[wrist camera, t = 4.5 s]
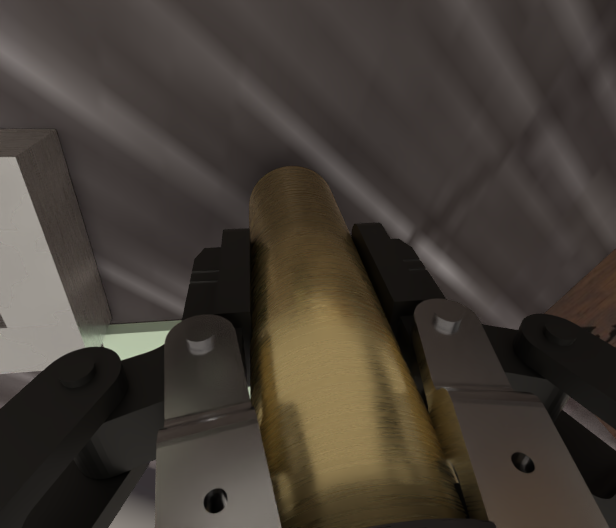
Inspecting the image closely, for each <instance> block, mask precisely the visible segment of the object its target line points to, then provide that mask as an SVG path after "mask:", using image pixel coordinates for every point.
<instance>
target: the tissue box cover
mask: <svg viewBox="0 0 616 528" xmlns="http://www.w3.org/2000/svg"><path fill="white" fill-rule="evenodd" d="M544 314H549V315H554V316H558V317H561V318H564V319H566V320H569V321H571V322H573V323H575V324H576V325H578V326H580V327H582V328H583V329H585V330H587V331H588V332H590V333H592V334H593V335H595V336H597V337H598V338H600V339H602V340H604V341H605V342H607V343H609V344H610V345H612V346H614V347H615V348H616V249H615V250H614V251H612V252H611V253H610V254H609V255H608V256H607V257H606V258H605V259H604V260H603V261H601V262H600V263H599V264H598V265H597V266H596V267H595V268H594V269H593V270H592V271H590V272H589V273H588V274H587V275H586V276H585V277H584V278H583V279H582V280H581V281H579V282H578V283H577V284H576V285H575V286H574V287H573V288H572V289H571V290H570V291H569V292H567V293H566V294H565V295H564V296H563V297H562V298H561V299H560V300H559V301H558V302H556V303H555V304H554V305H553V306H552V307H551V308H550V309H549V310H548V311H547V312H545V313H544ZM594 415H595V414H594ZM595 416H596V415H595ZM596 417H597V416H596ZM597 418H598V419H599V420H600V422H601V423H602V424H603V425H604V426H605V427H606V428H607V429H608V431H609V432H610V433H611V434H612V435H613V436H614V437H615V439H616V430H615V429H614V428H612V427H611V426H610V425H608V424H607V423H606V422H604V421H603V420H601V419H600V418H599V417H597Z"/></svg>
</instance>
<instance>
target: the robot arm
mask: <svg viewBox="0 0 616 528" xmlns="http://www.w3.org/2000/svg"><path fill="white" fill-rule="evenodd" d="M351 238H352V240H353V242H354V245H355V247H356V249H357V251H358V254H359V256H360V258H361V260H362V263H363V265H364V267H365V270H366V272H367V274H368V276H369V279H370V281H371V283H372V286H373V288H374V290H375V292H376V295H377V297H378V299H379V302H380V304H381V306H382V308H383V311H384V313H385V315H386V318H387V320H388V322H389V324H390V327H391V329H392V331H393V334H394V336H395V338H396V340H397V343H398V345H399V347H400V349H401V352H402V354H403V356H404V359H405V361H406V363H407V365H408V368H409V370H410V372H411V375H412V377H413V379H414V381H415V384H416V386H417V388H418V391H419V393H420V395H421V397H422V400H423V402H424V404H425V407H426V409H427V411H428V413H429V416H430V419H431V421H432V423H433V426H434V429H435V431H436V434H437V437H438V440H439V442H440V445H441V448H442V451H443V453H444V456H445V459H446V460H447V461H448V462H449V463H450V464H451V466H452V468H453V470H454V473H455V475H456V477H457V480H458V482H459V483H454V486H455V489H456V491H457V493H458V496H459V498H460V501H461V503H462V505H463V508H464V510H465V512H466V515H467V516H465V517H466V519H477V520H486V521H492V522H494V523H495V526H496V528H616V451H615V450H614V449H613V448H611V447H610V446H609V445H607V444H606V443H605V442H603V441H602V440H601V439H600V438H598V437H597V436H596V435H594V434H593V433H592V432H590V431H589V430H588V429H586V428H585V427H584V426H583V425H581V424H580V423H579V422H577V421H576V420H575V419H573V418H572V417H571V416H569V415H568V414H567V413H566V412H564V411H563V410H562V409H563V407H564V406H565V404H566V402H567V401H568V399H569V398H570V397H571V398H573V399H574V400H575V401H577V402H578V403H580V404H581V405H582V406H584V407H585V408H586V409H588V410H589V411H590V412H592V413H593V414H595V415H596V416H597V417H599V418H600V419H601V420H603V421H604V422H606V423H607V424H608V425H610V426H611V427H612V428H614V429H615V430H616V348H615V347H614V346H612V345H610V344H609V343H607V342H605V341H604V340H602V339H600V338H598V337H597V336H595V335H593V334H592V333H590V332H588V331H587V330H585V329H583V328H582V327H580V326H578V325H576V324H575V323H573V322H571V321H569V320H566V319H564V318H561V317H558V316H554V315H549V314H533V315H530V316H527V317H526V318H524V320H523V321H522V323H521V325H520V327H519V330H514V329H507V328H501V327H495V326H489V325H484V324H481V322H480V320H479V318H478V317H477V316H476V314H475V313H474V312H473V311H472V310H470V309H469V308H467V307H466V306H464V305H462V304H460V303H458V302H455V301H452V300H447V299H446V298H445V296H444V295H443V293H442V292H441V290H440V289H439V287H438V286H437V284H436V283H435V281H434V280H433V278H432V277H431V275H430V274H429V272H428V271H427V270H425V266H424V265H423V263H422V262H421V261H419V257H418V256H417V254H416V253H415V251H414V250H413V248H412V247H410V246H409V245H407V244H406V243H404V242H403V241H402V240H400V239H390V237H389V236H388V234H387V232H386V231H385V229H384V227H383V226H382V224H381V223H362V224H354V226H353V229H352V237H351ZM251 338H252V290H251V237H250V228H247V229H225V230H223V235H222V244H221V247H218V248H204V250H203V251H202V252H201V253H200V254H199V255H198V256H197V257H196V258H195V260H194V265H193V269H192V274H191V279H190V284H189V289H188V293H187V298H186V303H185V308H184V313H183V317H182V321H181V322H180V323H178V324H177V325H175V326H174V327H173V328H172V329H171V330H170V331H169V333H168V334H167V336H166V339H165V344H163V345H162V346H160V347H158V348H156V349H154V350H152V351H149V352H146V353H143V354H140V355H137V356H134V357H131V358H127V359H124V360H121V359H120V357H119V355H118V354H117V353H116V352H114V351H113V350H111V349H108V348H105V347H86V348H81V349H78V350H75V351H72V352H70V353H67V354H65V355H63V356H62V357H60V358H58V359H57V360H55V361H54V362H52V363H51V364H50V365H49V366H48V367H46V368H45V369H44V370H43V371H42V372H41V373H40V374H39V375H38V376H36V377H35V378H34V379H33V380H32V381H31V382H30V383H29V384H28V385H26V386H25V387H24V388H23V389H22V390H21V391H20V392H19V393H18V394H16V395H15V396H14V397H13V398H12V399H11V400H10V401H9V402H8V403H6V404H5V405H4V406H3V407H2V408H1V409H0V528H108V527H109V526H110V524H111V523H112V521H113V520H114V518H115V516H116V515H117V513H118V512H119V510H120V509H121V507H122V505H123V504H124V502H125V501H126V499H127V498H128V496H129V495H130V493H131V492H132V490H133V489H134V487H135V486H136V484H137V483H138V481H139V480H140V478H141V476H142V475H143V473H144V472H145V470H146V469H147V467H148V465H149V463H150V461H153V460H155V459H156V494H155V528H282V527H281V523H280V519H279V512H278V506H277V505H276V501H275V496H274V492H273V487H272V483H271V478H270V474H269V469H268V465H267V460H266V456H265V451H264V447H263V442H262V438H261V433H260V429H259V424H258V420H257V416H256V412H255V409H254V406H253V407H252V404H251V400H250V396H249V391H248V387H250V343H251Z"/></svg>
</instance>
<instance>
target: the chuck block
mask: <svg viewBox="0 0 616 528" xmlns="http://www.w3.org/2000/svg"><path fill="white" fill-rule="evenodd" d="M111 319H112V316H111V313H110V309H109V306H108V303H107V299H106V296H105V293H104V289H103V286H102V283H101V279H100V276H99V272H98V269H97V266H96V262H95V259H94V256H93V252H92V249H91V246H90V242H89V239H88V235H87V232H86V229H85V225H84V222H83V219H82V215H81V212H80V209H79V205H78V202H77V199H76V195H75V192H74V188H73V185H72V182H71V178H70V175H69V172H68V168H67V165H66V162H65V158H64V155H63V152H62V148H61V145H60V141H59V138H58V135H57V131H56V129H0V374H6V373H19V372H31V371H43V370H44V369H45V368H46V367H48V366H49V365H50V364H51V363H52V362H54V361H55V360H57V359H58V358H60V357H62V356H63V355H65V354H67V353H70V352H72V351H75V350H78V349H81V348H86V347H100V346H101V344H102V341H103V339H104V336H105V334H106V331H107V329H108V326H109V324H110V321H111Z"/></svg>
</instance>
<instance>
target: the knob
mask: <svg viewBox="0 0 616 528" xmlns="http://www.w3.org/2000/svg"><path fill="white" fill-rule="evenodd" d="M249 228H250V237H251V290H252V338H251V343H250V400H251V404H252V407H253V406H254V409H255V412H256V416H257V420H258V424H259V429H260V433H261V438H262V442H263V447H264V451H265V456H266V460H267V465H268V469H269V474H270V478H271V483H272V487H273V492H274V496H275V501H276V505H277V506H278V512H279V519H280V523H281V527H282V528H496V526H495V523H494V522H492V521H486V520H477V519H466V517H465V516H467V515H466V512H465V510H464V508H463V505H462V503H461V501H460V498H459V496H458V493H457V491H456V489H455V486H454V483H459V482H458V480H457V477H456V475H455V473H454V470H453V468H452V466H451V464H450V463H449V462H448V461H447V460H446V459H445V456H444V453H443V451H442V448H441V445H440V442H439V440H438V437H437V434H436V431H435V429H434V426H433V423H432V421H431V419H430V416H429V413H428V411H427V409H426V407H425V404H424V402H423V400H422V397H421V395H420V393H419V391H418V388H417V386H416V384H415V381H414V379H413V377H412V375H411V372H410V370H409V368H408V365H407V363H406V361H405V359H404V356H403V354H402V352H401V349H400V347H399V345H398V343H397V340H396V338H395V336H394V334H393V331H392V329H391V327H390V324H389V322H388V320H387V318H386V315H385V313H384V311H383V308H382V306H381V304H380V302H379V299H378V297H377V295H376V292H375V290H374V288H373V286H372V283H371V281H370V279H369V276H368V274H367V272H366V270H365V267H364V265H363V263H362V260H361V258H360V256H359V254H358V251H357V249H356V247H355V245H354V242H353V240H352V238H351V235H350V233H349V231H348V229H347V226H346V224H345V222H344V219H343V217H342V215H341V213H340V210H339V208H338V206H337V203H336V201H335V199H334V197H333V194H332V192H331V190H330V188H329V186H328V184H327V183H326V181H325V180H324V179H323V178H322V177H321V176H320V175H319V174H317V173H316V172H314V171H312V170H310V169H307V168H304V167H299V166H286V167H281V168H278V169H275V170H273V171H271V172H269V173H268V174H266V175H265V176H264V177H262V178H261V179H260V180H259V182H258V183H257V184H256V186H255V187H254V189H253V191H252V193H251V197H250V202H249Z"/></svg>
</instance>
